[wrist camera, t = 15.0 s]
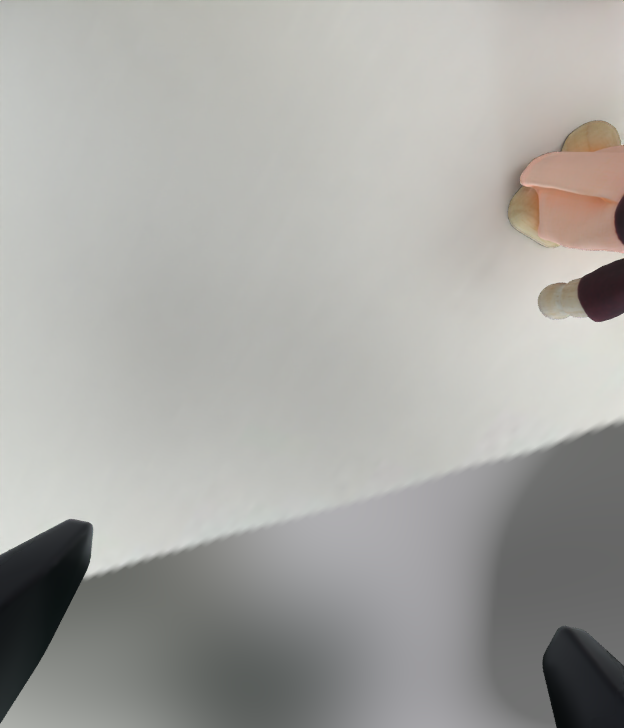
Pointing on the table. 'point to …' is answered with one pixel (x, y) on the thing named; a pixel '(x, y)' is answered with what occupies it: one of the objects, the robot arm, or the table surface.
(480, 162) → the table surface
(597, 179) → the grandmother figurine
